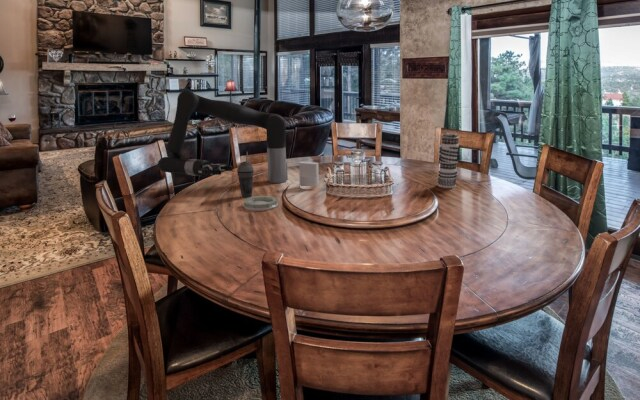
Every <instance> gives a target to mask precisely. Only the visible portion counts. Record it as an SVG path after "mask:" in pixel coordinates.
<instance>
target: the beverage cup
mask: <svg viewBox="0 0 640 400" xmlns="http://www.w3.org/2000/svg"><path fill="white" fill-rule="evenodd" d="M248 153H249V151H246V156H245V157H246V159H245V161H242V162H240V163H239V164H238V165H237V170H236V172H237V175H238V182H239V187H240V195H241V198H243V199H247V198H250V197H253V189H254V188H253V186H254V185H253V183H254V171H255V170H254V167H253V165H252V164H251V162H249V161H248V155H249V154H248Z"/></svg>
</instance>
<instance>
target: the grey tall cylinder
mask: <svg viewBox="0 0 640 400" xmlns="http://www.w3.org/2000/svg"><path fill="white" fill-rule="evenodd" d="M440 137H441V143H440V144H441V145H440V147H439V151H438V152H439V153H440V154H439V158H438V159H439V164H440V165H439V170H438V174H437V175H438V178H437V186H438V187H440V188H444V189H454V188H456V187H457V186H456V184H457V180H458V179H457V176H458V175H457V174H458V172H457V170H458V169H457V163H459V159H458V157H459V156H460V155H459V154H460V151H459V150H461V149H460V145H459V144H460V143H459V141H460V140H459V139H460V136H458V134H457V133H454V132H445V133H443V134H442V136H440Z"/></svg>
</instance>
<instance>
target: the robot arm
mask: <svg viewBox="0 0 640 400" xmlns="http://www.w3.org/2000/svg"><path fill="white" fill-rule="evenodd" d="M192 113H199V114H203V115H209V116H211V117H212V118H213V117H214V118H216V119H219V120H222V121H225V122H228V123H229V122H230V123H233V124H237V125H244V126H245V125H246V126H255V127H259V128H262V129H264V130H266V131H265V133H266V153H267V157H266V158H267V180H268V182H269V183H270V184H271V183H272V184H281V183H286V182H287V181H288V180H289V177H288V162H287V150H286V148H287V145H286V143H287V141H286V140H287V134H286V130H287V129H286V121H285V119H284V118H283V116H281V114H278V113H270V112H266V111H265V112H263V111H259V110H256V109H253V108H251V107H248V106H246V105H242V104H239V103H235V102H231V101H226V100H220V99H219V100H218V99H217V100H216V99H210V98H206V97H204V96H201V95H199V94H197V93H195V92H193V91H191V90H182V91H181V92H180V93H179V94H178V96H177V101H176V111H175V116H174V120H173V124H172V128H171V130H170V133H169V137H168V141H167V145H166V149H165V150H166V151H167V152H169V154H170V155H169V156H163V157H161V158H160V159H159V160H158V162H157V166H158V168H159V170H160V171H161V172H164V173H168V174H169V173H171V174H175V173H177V174H181V175H189V176H195V177H207V176H212V175H217V176H220V175H222V171H224V172H226V171H228V172H232V171H234V169H233V166H232V165H228V164H227V163H215V164H214V163H210V161H208V160H205V159H195V158H192V159H189V158H182V151H183V148H184V145H185V141H186V136H187V132H188V131H187V130H188V126H189V125H188V124H189V121H190V118H191V116H192Z"/></svg>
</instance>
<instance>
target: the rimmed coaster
mask: <svg viewBox="0 0 640 400" xmlns="http://www.w3.org/2000/svg"><path fill="white" fill-rule="evenodd" d="M243 202H244V203H243V204H242V208H243V209H244V210H246V211H251V212H265V211H266V212H267V211H272V210H274V209H277V208H278V206H279V205H278V204H279V202H278V200H277V198H276V197H275V196H269V195H258V196H257V195H256V196H253V195H252V197H250V198H243Z"/></svg>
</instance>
